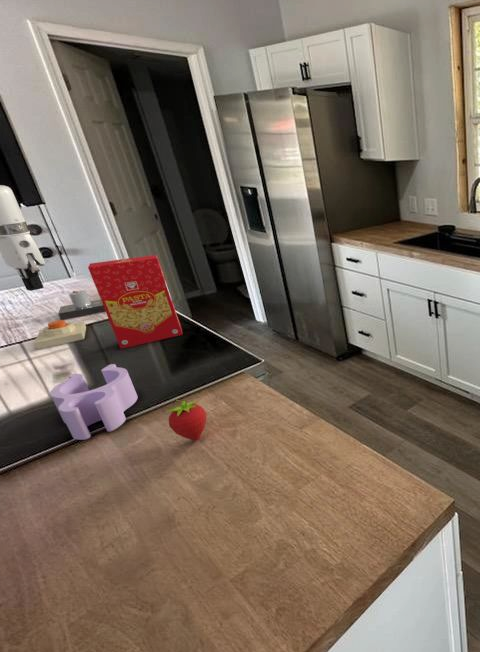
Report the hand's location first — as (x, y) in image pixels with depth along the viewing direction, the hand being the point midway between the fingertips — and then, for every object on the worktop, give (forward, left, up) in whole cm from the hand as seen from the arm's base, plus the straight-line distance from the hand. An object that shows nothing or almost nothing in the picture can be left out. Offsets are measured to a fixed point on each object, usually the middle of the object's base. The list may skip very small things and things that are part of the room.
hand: (35, 289), depth 126 cm
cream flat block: (+2, -6, -15) cm, 16 cm away
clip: (+12, -67, -15) cm, 70 cm away
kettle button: (+2, -6, -12) cm, 13 cm away
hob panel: (+6, +19, -15) cm, 25 cm away
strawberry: (+27, -93, -16) cm, 98 cm away
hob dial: (+6, +19, -13) cm, 24 cm away
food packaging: (+23, -26, -16) cm, 38 cm away
